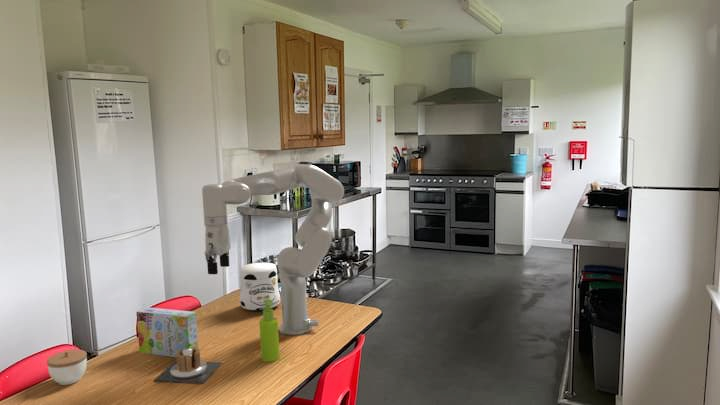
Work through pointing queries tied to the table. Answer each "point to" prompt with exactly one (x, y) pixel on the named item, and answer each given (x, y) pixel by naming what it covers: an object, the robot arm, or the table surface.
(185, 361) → the ring
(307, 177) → the robot arm
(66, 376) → the lidded jar
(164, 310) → the snack box
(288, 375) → the table surface
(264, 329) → the soap dispenser
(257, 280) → the milk container
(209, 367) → the grey peg stand
